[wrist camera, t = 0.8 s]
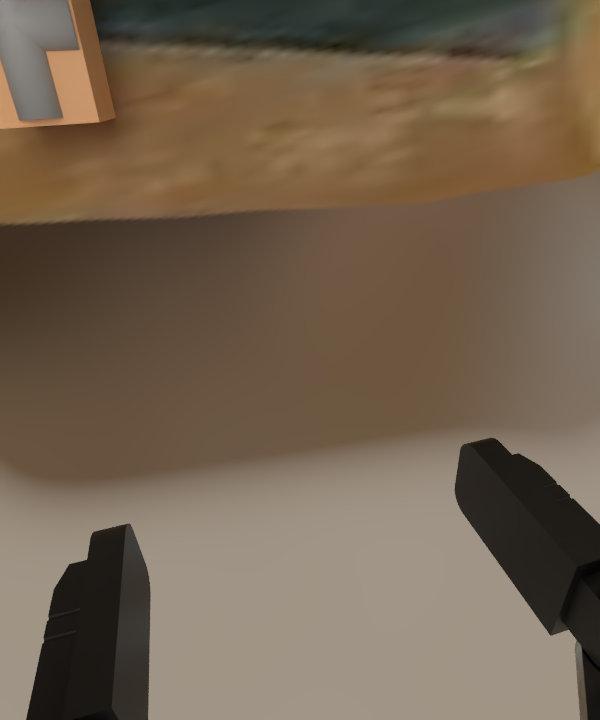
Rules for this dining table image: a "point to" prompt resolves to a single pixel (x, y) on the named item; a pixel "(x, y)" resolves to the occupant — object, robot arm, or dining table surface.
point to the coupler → (51, 65)
